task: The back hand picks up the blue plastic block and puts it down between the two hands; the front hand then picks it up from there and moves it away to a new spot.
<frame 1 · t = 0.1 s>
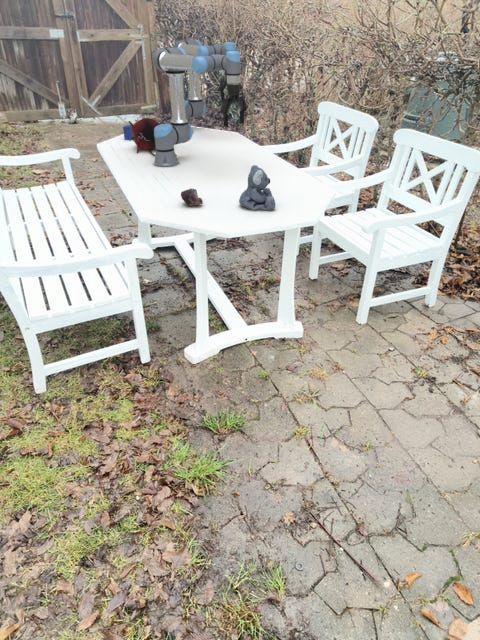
front hand: (234, 125, 259), 28 cm above the table, tool pointing down, fingers open, 13 cm apart
back hand: (230, 101, 329), 28 cm above the table, tool pointing down, fingers open, 13 cm apart
block: (130, 139, 353), on the table
rock: (191, 204, 231), on the table
koala plush: (256, 206, 229), on the table
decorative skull: (150, 148, 327), on the table
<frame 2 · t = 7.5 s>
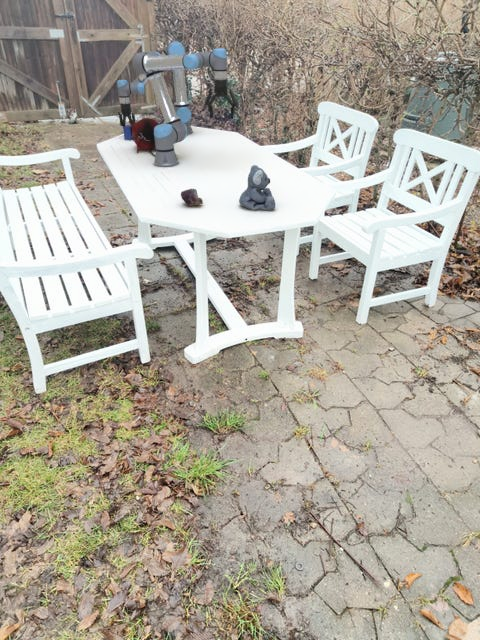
front hand: (221, 118, 276), 28 cm above the table, tool pointing down, fingers open, 13 cm apart
back hand: (129, 135, 352), 2 cm above the table, tool pointing down, fingers closed on block, 5 cm apart
block: (130, 139, 353), on the table, touching back hand
everything else where it was.
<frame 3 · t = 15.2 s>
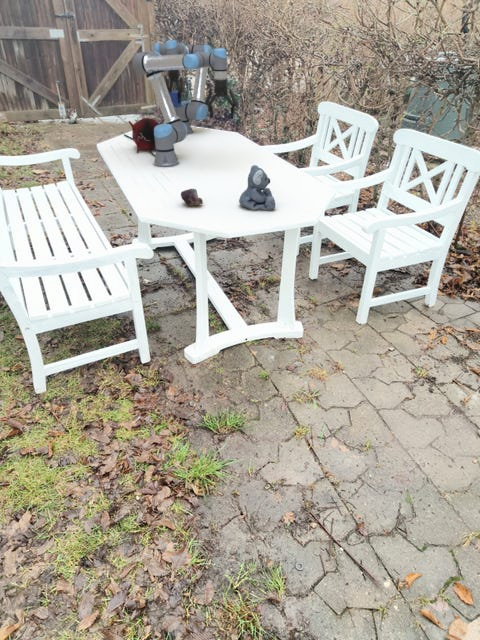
front hand: (221, 118, 276), 28 cm above the table, tool pointing down, fingers open, 13 cm apart
back hand: (176, 102, 326), 28 cm above the table, tool pointing down, fingers closed on block, 5 cm apart
block: (176, 106, 328), point 25 cm above the table, touching back hand
everything else where it was.
when the back hand's fingers open (4 cm above the table, at t = 22.7 s): block drops 1 cm, on the table.
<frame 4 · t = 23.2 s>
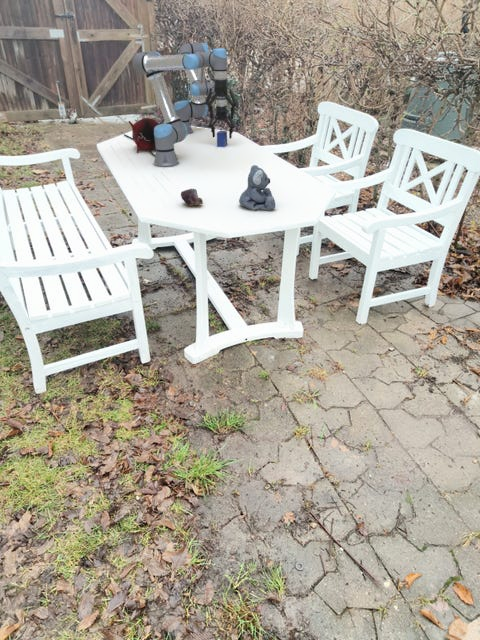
front hand: (221, 118, 276), 28 cm above the table, tool pointing down, fingers open, 13 cm apart
back hand: (222, 137, 330), 6 cm above the table, tool pointing down, fingers open, 12 cm apart
block: (222, 145, 333), on the table
everything else where it was.
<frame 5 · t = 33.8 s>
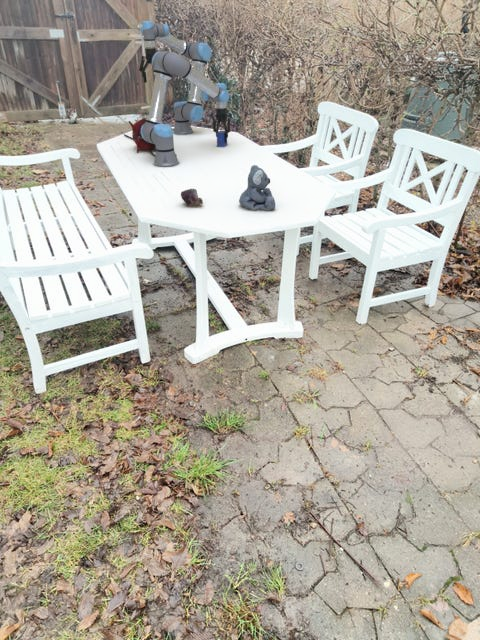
front hand: (222, 142, 332), 2 cm above the table, tool pointing down, fingers closed on block, 5 cm apart
back hand: (154, 82, 319), 41 cm above the table, tool pointing down, fingers open, 13 cm apart
block: (222, 145, 333), on the table, touching front hand
everything else where it was.
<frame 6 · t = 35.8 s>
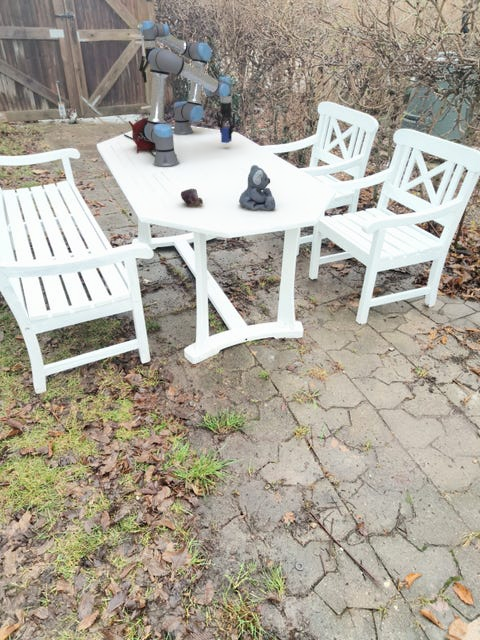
front hand: (226, 137, 322), 7 cm above the table, tool pointing down, fingers closed on block, 5 cm apart
back hand: (154, 82, 319), 41 cm above the table, tool pointing down, fingers open, 13 cm apart
block: (226, 141, 323), point 5 cm above the table, touching front hand
everything else where it was.
when the front hand's fingers open (4 cm above the table, at t = 37.8 s): block drops 1 cm, on the table.
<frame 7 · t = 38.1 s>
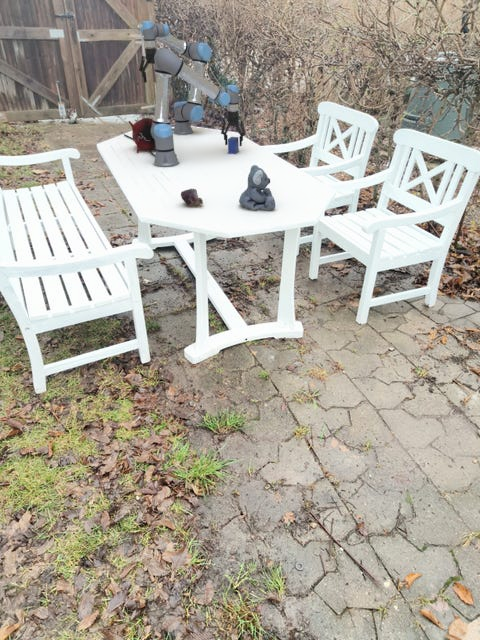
front hand: (233, 145, 314), 5 cm above the table, tool pointing down, fingers open, 10 cm apart
back hand: (154, 82, 319), 41 cm above the table, tool pointing down, fingers open, 13 cm apart
block: (233, 152, 317), on the table
everything else where it was.
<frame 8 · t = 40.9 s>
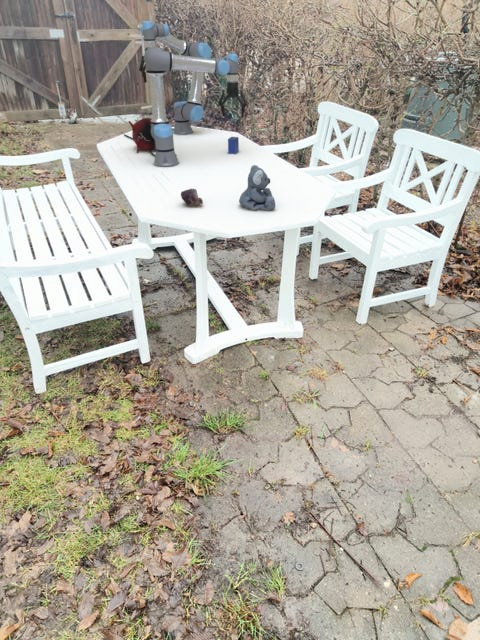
front hand: (233, 117, 304), 23 cm above the table, tool pointing down, fingers open, 13 cm apart
back hand: (154, 82, 319), 41 cm above the table, tool pointing down, fingers open, 13 cm apart
nothing on the table moved.
at the end: block inside the target area (0.1 cm from its centre), on the table; block tilted 0°; the two hands never held the block at the same time; the front hand is holding nothing; the back hand is holding nothing; block at rest at the end (0.0 cm/s) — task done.
